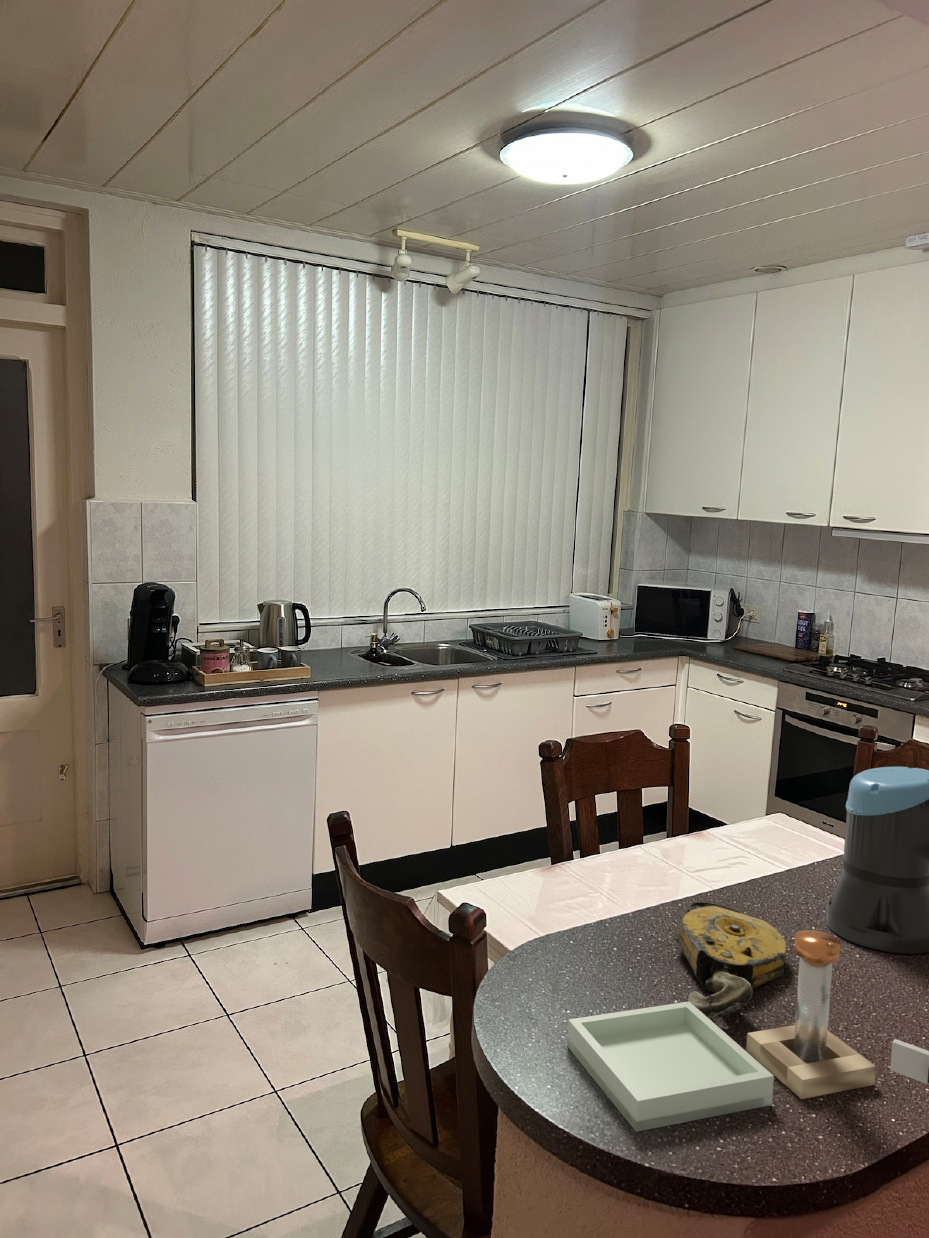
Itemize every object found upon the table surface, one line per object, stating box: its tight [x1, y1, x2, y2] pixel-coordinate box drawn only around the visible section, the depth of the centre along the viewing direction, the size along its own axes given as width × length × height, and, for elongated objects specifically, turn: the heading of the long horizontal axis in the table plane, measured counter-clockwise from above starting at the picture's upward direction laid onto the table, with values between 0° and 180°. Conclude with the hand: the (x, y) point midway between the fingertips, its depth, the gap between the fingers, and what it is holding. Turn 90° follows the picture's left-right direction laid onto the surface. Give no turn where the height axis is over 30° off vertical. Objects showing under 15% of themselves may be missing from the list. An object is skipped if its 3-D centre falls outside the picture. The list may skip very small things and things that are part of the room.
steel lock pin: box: [793, 929, 841, 1064], centre depth 97 cm, size 4×4×14 cm
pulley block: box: [674, 901, 788, 1025], centre depth 117 cm, size 14×6×30 cm
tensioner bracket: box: [745, 1024, 876, 1100], centre depth 97 cm, size 9×9×2 cm
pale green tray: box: [566, 1001, 775, 1133], centre depth 95 cm, size 15×15×3 cm
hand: (913, 1026), depth 90 cm, fingers open, 13 cm apart
